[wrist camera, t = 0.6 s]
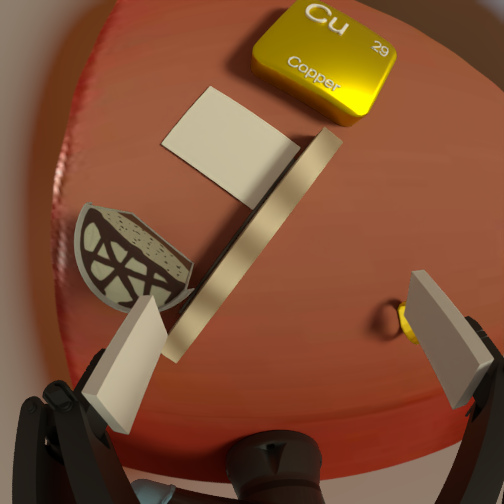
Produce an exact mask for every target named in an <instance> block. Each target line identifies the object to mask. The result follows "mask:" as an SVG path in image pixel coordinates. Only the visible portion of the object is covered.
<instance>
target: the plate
mask: <svg viewBox="0 0 504 504" xmlns="http://www.w3.org/2000/svg"><path fill="white" fill-rule="evenodd" d="M161 144H162V145H163V146H165V147H166V148H168V149H169V150H170V151H172V152H173V153H175V154H176V155H178V156H179V157H180V158H182V159H183V160H185V161H186V162H188V163H189V164H190V165H192V166H193V167H195V168H196V169H197V170H199V171H200V172H202V173H203V174H204V175H206V176H207V177H208V178H210V179H211V180H213V181H214V182H215V183H217V184H218V185H219V186H221V187H222V188H224V189H225V190H226V191H228V192H229V193H230V194H232V195H233V196H234V197H236V198H237V199H239V200H240V201H241V202H243V203H244V204H245V205H247V206H248V207H249V208H251V209H252V210H253V209H254V208H255V207H256V205H257V204H258V203H259V201H260V200H261V199H262V198H263V196H264V195H265V194H266V192H267V191H268V190H269V188H270V187H271V186H272V184H273V183H274V182H275V181H276V179H277V178H278V177H279V175H280V174H281V173H282V171H283V170H284V169H285V168H286V166H287V165H288V164H289V162H290V161H291V160H292V159H293V157H294V156H295V155H296V153H297V152H298V151H299V150H300V147H299V146H298V145H297V144H295V143H294V142H293V141H291V140H290V139H289V138H287V137H286V136H285V135H283V134H282V133H280V132H279V131H278V130H276V129H275V128H274V127H272V126H271V125H269V124H268V123H266V122H265V121H264V120H262V119H261V118H259V117H258V116H256V115H255V114H253V113H252V112H250V111H249V110H248V109H246V108H244V107H243V106H241V105H240V104H238V103H237V102H235V101H234V100H232V99H231V98H229V97H227V96H226V95H224V94H223V93H221V92H219V91H218V90H216V89H215V88H213V87H211V86H210V87H209V88H208V89H207V90H206V91H205V92H204V93H203V94H202V95H201V97H200V98H199V99H198V100H197V101H196V102H195V103H194V104H193V106H192V107H191V108H190V109H189V110H188V111H187V112H186V114H185V115H184V116H183V117H182V118H181V120H180V121H179V122H178V123H177V124H176V126H175V127H174V128H173V129H172V131H171V132H170V133H169V134H168V136H167V137H166V138H165V139H164V141H163V142H162V143H161Z"/></svg>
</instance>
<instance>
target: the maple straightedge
mask: <svg viewBox="0 0 504 504" xmlns="http://www.w3.org/2000/svg"><path fill="white" fill-rule="evenodd" d="M342 143H343V142H342V141H341V140H340V139H339V138H337V137H336V136H335V135H334V134H333V133H331V132H330V131H329V130H328V129H326V128H325V127H324V128H323V129H322V130H321V131H320V132H319V133H318V134H317V135H316V136H315V137H314V139H313V140H312V141H311V143H310V144H309V145H308V146H307V148H306V149H305V150H304V152H303V153H302V154H301V155H300V157H299V158H298V159H297V161H296V162H295V163H294V164H293V162H294V161H295V159H294V158H293V159H292V160H291V162H290V163H289V164H288V166H287V167H286V168H285V169H284V171H283V172H282V173H281V175H280V176H279V177H278V179H277V180H276V181H275V182H274V184H273V185H272V186H271V188H270V189H269V190H268V192H267V193H266V194H265V196H264V197H263V198H262V199H261V201H260V202H259V203H258V205H257V206H256V207H255V209H254V210H253V211H252V213H251V214H250V215H249V217H248V218H247V219H246V221H245V222H244V223H243V225H242V226H241V227H240V229H239V230H238V231H237V233H236V234H235V235H234V237H233V238H232V239H231V241H230V242H229V243H228V245H227V246H226V247H225V249H224V250H223V252H222V253H221V254H220V256H219V257H218V258H217V260H216V261H215V262H214V264H213V265H212V267H211V268H210V269H209V271H208V272H207V273H206V275H205V276H204V278H203V279H202V280H201V282H200V283H199V284H198V286H197V287H196V289H195V290H194V291H193V293H192V294H191V296H190V297H189V298H188V300H187V301H186V303H185V304H184V305H183V307H182V308H181V310H180V311H179V312H178V313H180V314H181V313H182V311H183V310H184V308H185V307H186V306H187V304H188V303H189V301H190V300H191V299H192V297H193V296H194V295H195V293H196V292H197V290H198V289H199V288H200V286H201V285H202V284H203V282H204V281H205V279H206V278H207V277H208V275H209V274H210V273H211V271H212V270H213V268H214V267H215V266H216V264H217V263H218V262H219V260H220V259H221V258H222V256H223V255H224V253H225V252H226V251H227V249H228V248H229V247H230V245H231V244H232V243H233V241H234V240H235V239H236V237H237V236H238V235H239V233H240V232H241V231H242V229H243V228H244V227H245V225H246V224H247V223H248V221H249V220H250V219H251V217H252V216H253V215H254V213H255V212H256V211H257V209H258V208H259V207H260V205H261V204H262V203H263V201H264V200H265V199H266V197H267V196H268V195H269V194H270V192H271V191H272V190H273V188H274V187H275V186H276V184H277V183H278V182H279V180H280V179H281V178H282V177H283V175H284V174H285V173H286V171H287V170H288V169H289V167H290V166H291V165H292V164H293V166H292V167H291V168H290V170H289V171H288V172H287V173H286V175H285V176H284V177H283V179H282V180H281V181H280V183H279V184H278V185H277V187H276V188H275V189H274V190H273V192H272V193H271V194H270V196H269V197H268V198H267V200H266V201H265V202H264V204H263V205H262V206H261V208H260V209H259V210H258V212H257V213H256V214H255V216H254V217H253V218H252V219H251V221H250V222H249V223H248V225H247V226H246V227H245V229H244V230H243V231H242V233H241V234H240V236H239V237H238V238H237V240H236V241H235V242H234V244H233V245H232V246H231V248H230V249H229V250H228V252H227V253H226V254H225V256H224V257H223V258H222V260H221V261H220V262H219V264H218V265H217V267H216V268H215V269H214V271H213V272H212V273H211V275H210V276H209V277H208V279H207V280H206V282H205V283H204V284H203V286H202V287H201V288H200V290H199V291H198V293H197V294H196V295H195V297H194V298H193V299H192V301H191V302H190V304H189V305H188V306H187V308H186V309H185V311H184V312H183V313H182V315H181V316H180V318H179V319H178V320H177V322H176V323H175V325H174V326H173V327H172V329H171V330H170V332H169V333H168V337H167V339H166V342H165V344H164V347H163V349H162V351H161V353H162V354H163V355H165V356H166V357H168V358H169V359H170V360H172V361H174V362H175V363H177V362H178V361H179V359H180V358H181V357H182V355H183V354H184V353H185V351H186V350H187V349H188V348H189V346H190V345H191V344H192V342H193V341H194V340H195V338H196V337H197V336H198V334H199V333H200V332H201V331H202V329H203V328H204V327H205V325H206V324H207V323H208V321H209V320H210V319H211V317H212V316H213V315H214V313H215V312H216V311H217V310H218V308H219V307H220V306H221V304H222V303H223V302H224V300H225V299H226V298H227V296H228V295H229V294H230V292H231V291H232V290H233V288H234V287H235V286H236V285H237V283H238V282H239V281H240V279H241V278H242V277H243V275H244V274H245V273H246V271H247V270H248V269H249V267H250V266H251V265H252V263H253V262H254V261H255V259H256V258H257V257H258V255H259V254H260V253H261V251H262V250H263V249H264V247H265V246H266V245H267V243H268V242H269V241H270V239H271V238H272V237H273V235H274V234H275V233H276V231H277V230H278V229H279V227H280V226H281V225H282V223H283V222H284V221H285V219H286V218H287V217H288V215H289V214H290V213H291V211H292V210H293V209H294V207H295V206H296V205H297V203H298V202H299V201H300V199H301V198H302V197H303V195H304V194H305V193H306V191H307V190H308V189H309V187H310V186H311V185H312V183H313V182H314V181H315V179H316V178H317V177H318V175H319V174H320V172H321V171H322V170H323V168H324V167H325V166H326V164H327V163H328V162H329V160H330V159H331V158H332V156H333V155H334V154H335V152H336V151H337V150H338V148H339V147H340V145H341V144H342Z"/></svg>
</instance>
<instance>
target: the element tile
mask: <svg viewBox="0 0 504 504" xmlns="http://www.w3.org/2000/svg"><path fill="white" fill-rule="evenodd" d="M396 59H397V53H396V50H395V48H394V47H393V46H392V45H391V44H390V43H389V42H388V41H386V40H385V39H384V38H382V37H381V36H379V35H378V34H376V33H375V32H373V31H372V30H370V29H369V28H367V27H366V26H364V25H362V24H361V23H359V22H358V21H356V20H354V19H353V18H351V17H349V16H347V15H346V14H344V13H342V12H340V11H339V10H337V9H335V8H333V7H331V6H329V5H327V4H325V3H323V2H321V1H319V0H297V1H296V2H295V3H294V4H293V5H292V6H291V7H290V8H289V9H288V10H287V11H286V12H285V13H284V14H283V15H282V16H281V17H280V18H279V19H278V20H277V21H276V22H275V23H274V24H273V25H272V26H271V27H270V28H269V29H268V30H267V31H266V32H265V34H264V35H263V36H262V37H261V38H260V39H259V40H258V41H257V43H256V44H255V45H254V47H253V50H252V57H251V66H250V68H251V71H252V72H253V73H254V75H255V76H257V77H258V78H260V79H262V80H264V81H265V82H267V83H269V84H271V85H273V86H275V87H277V88H279V89H280V90H282V91H284V92H286V93H288V94H289V95H291V96H293V97H294V98H296V99H298V100H300V101H301V102H303V103H305V104H306V105H308V106H310V107H311V108H313V109H314V110H316V111H318V112H319V113H321V114H322V115H324V116H325V117H327V118H328V119H330V120H331V121H333V122H334V123H336V124H338V125H340V126H344V127H349V126H352V125H354V124H355V123H356V122H358V121H359V120H360V119H362V118H363V117H364V116H366V115H367V114H368V113H369V111H370V110H371V108H372V106H373V104H374V102H375V100H376V98H377V96H378V94H379V92H380V90H381V88H382V87H383V85H384V83H385V81H386V79H387V77H388V75H389V73H390V71H391V69H392V67H393V65H394V63H395V61H396Z"/></svg>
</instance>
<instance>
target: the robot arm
mask: <svg viewBox="0 0 504 504" xmlns="http://www.w3.org/2000/svg"><path fill="white" fill-rule="evenodd" d="M404 317H405V318H406V320H407V322H408V323H409V325H410V327H411V329H412V330H413V332H414V334H415V336H416V337H417V339H418V341H419V343H420V345H421V346H422V348H423V350H424V352H425V354H426V356H427V358H428V360H429V361H430V363H431V365H432V367H433V369H434V371H435V373H436V375H437V377H438V379H439V381H440V383H441V385H442V387H443V389H444V392H445V394H446V396H447V398H448V400H449V402H450V405H451V407H452V409H453V410H454V409H456V408H459V407H461V406H463V405H466V404H467V403H468V401H469V400H470V398H471V397H472V395H473V397H474V399H475V402H474V403H473V405H472V406H471V408H470V409H469V410H468V412H467V414H466V415H465V416H466V417H467V416H468V415H469V414H470V417H469V420H468V423H467V427H466V430H465V433H464V436H463V439H462V442H461V445H460V448H459V450H458V453H457V456H456V458H455V461H454V463H453V466H452V468H451V470H450V473H449V475H448V477H447V480H446V482H445V484H444V486H443V488H442V490H441V492H440V494H439V496H438V498H437V500H436V502H435V504H496V502H497V499H498V496H499V493H500V491H501V488H502V485H503V481H504V357H503V356H502V355H501V353H500V352H499V350H498V349H497V348H496V346H495V345H494V343H493V342H492V341H491V339H490V338H489V337H487V334H486V333H485V331H483V329H482V327H481V326H480V325H479V324H478V322H477V321H475V320H474V319H472V318H471V317H469V316H467V317H463V315H462V314H461V313H460V312H459V310H458V309H457V308H456V307H455V305H454V304H453V303H452V302H451V300H450V299H449V298H448V297H447V296H446V294H445V293H444V292H443V291H442V290H441V288H440V287H439V286H438V285H437V284H436V283H435V282H434V280H433V279H432V278H431V277H430V276H429V275H428V274H427V273H426V271H425V270H418V271H412V272H411V279H410V285H409V291H408V296H407V301H406V306H405V311H404ZM167 337H168V334H167V332H166V329H165V327H164V324H163V321H162V319H161V316H160V313H159V311H158V308H157V305H156V302H155V299H154V296H153V295H145V296H140V297H139V299H138V300H137V302H136V303H135V305H134V306H133V308H132V309H131V311H130V312H129V314H128V315H127V317H126V318H125V320H124V322H123V323H122V325H121V326H120V328H119V329H118V331H117V333H116V334H115V336H114V337H113V339H112V341H111V342H110V344H109V346H108V347H107V349H103V348H102V349H101V350H100V351H99V352H98V353H97V354H96V355H95V356H94V357H93V359H92V360H91V362H90V365H88V367H87V369H86V371H85V372H84V374H83V375H82V377H81V379H80V380H79V382H78V384H77V386H76V387H75V389H74V391H72V390H71V389H70V387H69V386H68V385H67V384H66V382H64V381H61V380H57V381H54V382H52V383H50V384H49V385H48V386H47V387H46V388H45V390H44V392H43V398H44V399H45V401H46V402H47V403H48V404H44V403H43V402H42V401H41V400H40V398H38V397H36V396H32V397H29V398H28V399H26V400H25V402H24V403H23V404H22V407H21V410H20V416H19V421H18V427H17V434H16V442H15V452H14V462H13V480H12V504H325V502H324V499H323V496H322V493H321V489H320V486H319V483H320V468H321V465H322V455H321V452H320V450H319V447H318V445H317V443H316V442H315V441H314V440H313V439H312V438H311V437H309V436H307V435H305V434H303V433H299V432H295V431H286V430H277V431H268V432H262V433H258V434H255V435H252V436H249V437H247V438H245V439H243V440H241V441H239V442H238V443H236V444H235V445H234V446H233V447H232V448H231V449H230V450H229V452H228V453H227V456H226V474H227V476H228V478H229V480H230V481H231V483H232V485H233V488H234V490H235V493H236V495H237V497H238V500H237V499H231V498H225V497H219V496H213V495H208V494H202V493H198V492H193V491H189V490H185V489H181V488H177V487H176V486H174V485H172V484H171V485H166V484H162V483H158V482H154V481H151V480H147V479H138V480H135V481H133V482H132V483H131V484H130V482H129V480H128V478H127V476H126V474H125V472H124V470H123V468H122V465H121V463H120V461H119V459H118V456H117V454H116V452H115V449H114V447H113V444H112V442H111V439H110V437H109V434H108V433H107V431H106V430H105V429H106V427H107V425H109V426H110V427H111V429H112V430H113V431H115V432H119V433H123V434H128V435H129V432H130V430H131V427H132V424H133V422H134V419H135V416H136V414H137V411H138V409H139V406H140V403H141V401H142V398H143V396H144V393H145V391H146V388H147V386H148V383H149V381H150V378H151V376H152V373H153V371H154V368H155V366H156V363H157V361H158V358H159V356H160V354H161V351H162V349H163V347H164V344H165V342H166V339H167ZM470 412H471V413H470ZM45 439H46V440H47V445H45ZM502 504H504V492H503V499H502Z"/></svg>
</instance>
